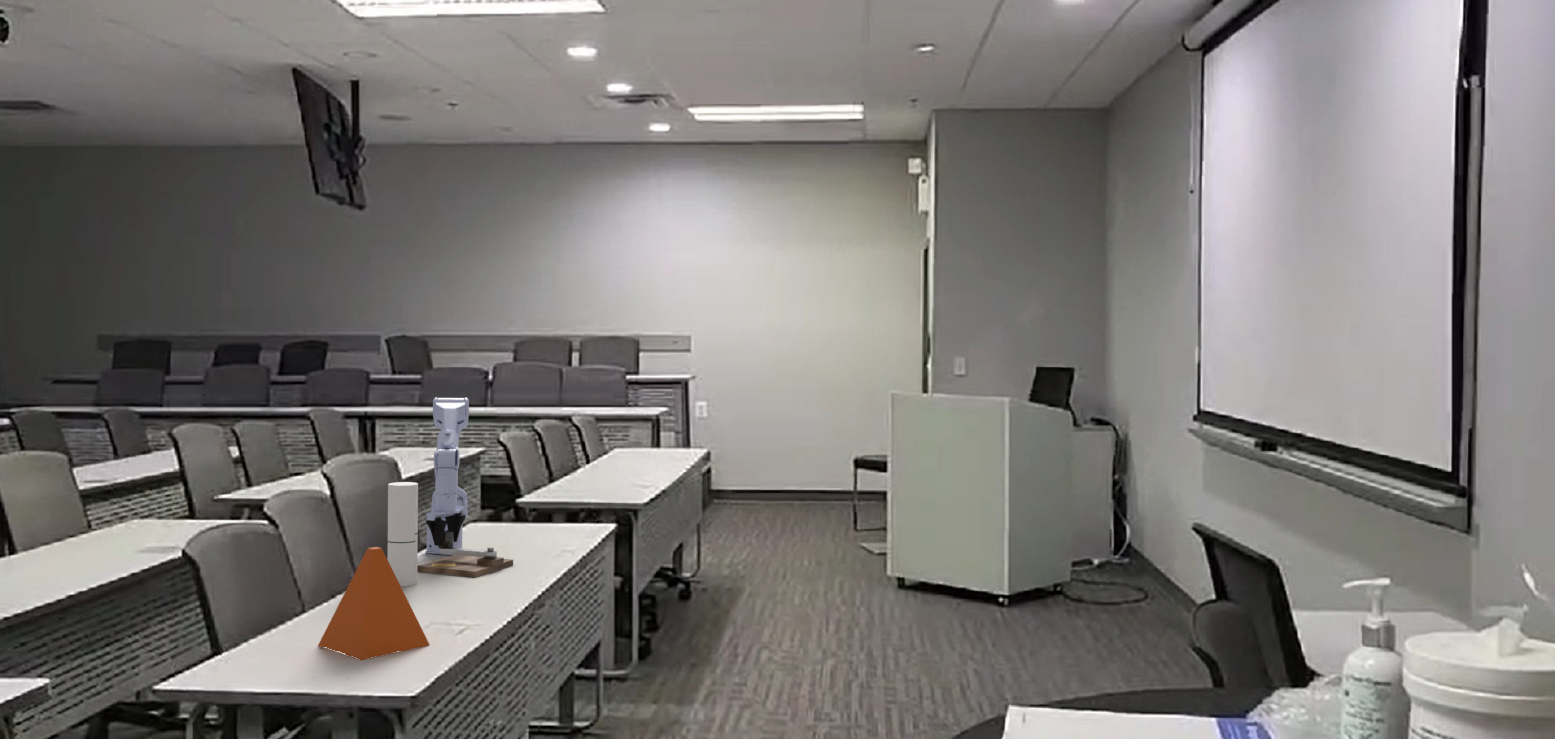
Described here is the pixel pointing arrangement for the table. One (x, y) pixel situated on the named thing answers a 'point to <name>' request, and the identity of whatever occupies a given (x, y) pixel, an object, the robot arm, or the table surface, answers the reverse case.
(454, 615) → the table surface
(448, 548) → the lever
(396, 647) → the pyramid
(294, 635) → the table surface
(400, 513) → the cylindrical container
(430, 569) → the cracker board
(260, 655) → the table surface
